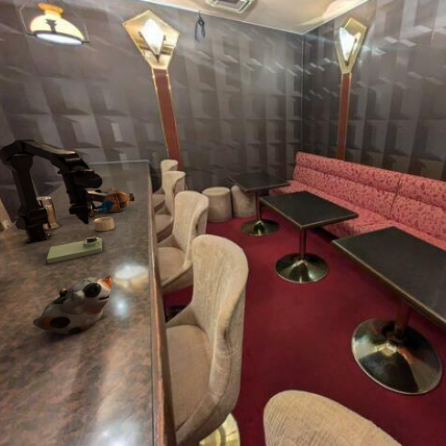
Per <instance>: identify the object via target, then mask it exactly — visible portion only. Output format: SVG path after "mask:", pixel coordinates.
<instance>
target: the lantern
mask: <svg viewBox="0 0 446 446" xmlns="http://www.w3.org/2000/svg"><path fill="white" fill-rule="evenodd" d="M102 193H105V194H106V200H105V203H101V204H100V205H97V206H96V204H95V203H94V201H92V202H88V203H89V204H90V205H92V212H88V216H89V217H90V218H92V217H93V215H94V214H97V213H98V214H99V213H101V214H103V213H105V214H107V213H121V212H122V209H126V207H127V206H128V205H129V204H130V202H135V198H136V197H135V195H134V193H130V192H128V193H127V192H124V191H122V190H120V189H115V190H113V189H112V188H111V187H110V188H107V189H104V190H102Z"/></svg>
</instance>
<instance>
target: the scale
mask: <svg viewBox="0 0 446 446" xmlns="http://www.w3.org/2000/svg"><path fill="white" fill-rule="evenodd" d="M96 239H97V241H95V242H90V243H88V242H87V239H85V240H81V241H74V242H70V243H65V244H58V245H54V246H50V248H49V251H48V254H47V257H46V262H47V264H51V263H57V262H61V261H62V262H63V261H66V260H70V259H75V258H81V257H85V256H89V255H95V254H99V253H103V240H102V238H101V237H96Z"/></svg>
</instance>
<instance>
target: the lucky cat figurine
mask: <svg viewBox="0 0 446 446" xmlns="http://www.w3.org/2000/svg"><path fill="white" fill-rule="evenodd" d="M111 277H112V276H111V275H107V276H106V277H104V278H103V277H102V278H101V277H86V278H83V279H81V280H79V281H78V282H76V283H74V284H72V285H71V287H69V288H68V289H67V288H61V289H60V290H58V296H59V297H57V298H56V299H54V300H52V301H50V302H48V304H47V305H46V306H45V308H44V310H43V311H42V313H41V315H40V316H39V317H37V318H35V319H34V320H33V321H32V322H33V323H32V324H33V326H34V327H36V328H39V329H40V330H44V331H47V332H51V333H54V334H61V335H63V334H64V335H69V334H71V333H73V332H78V333H80V332H84V331H85V330H86V329H88V328H89V327H90V326H92V325H94V324H95V323H96V322H97V321H99V320H100V319H101V318H102V316H103V309H104V306H105V305H106V304H107V303H108V302H109V300H110V299H111V292H112V289H111V288H112V286H113V280H112V278H111Z"/></svg>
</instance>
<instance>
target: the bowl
mask: <svg viewBox="0 0 446 446" xmlns="http://www.w3.org/2000/svg"><path fill="white" fill-rule="evenodd" d="M93 225H94V228H95V230H96V231H97V232H107V231H111V230H113V229H114V228H115V226H116V225H115V223H114V218H113V217H112V216H103V217H98V218H96V219H94V220H93Z"/></svg>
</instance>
